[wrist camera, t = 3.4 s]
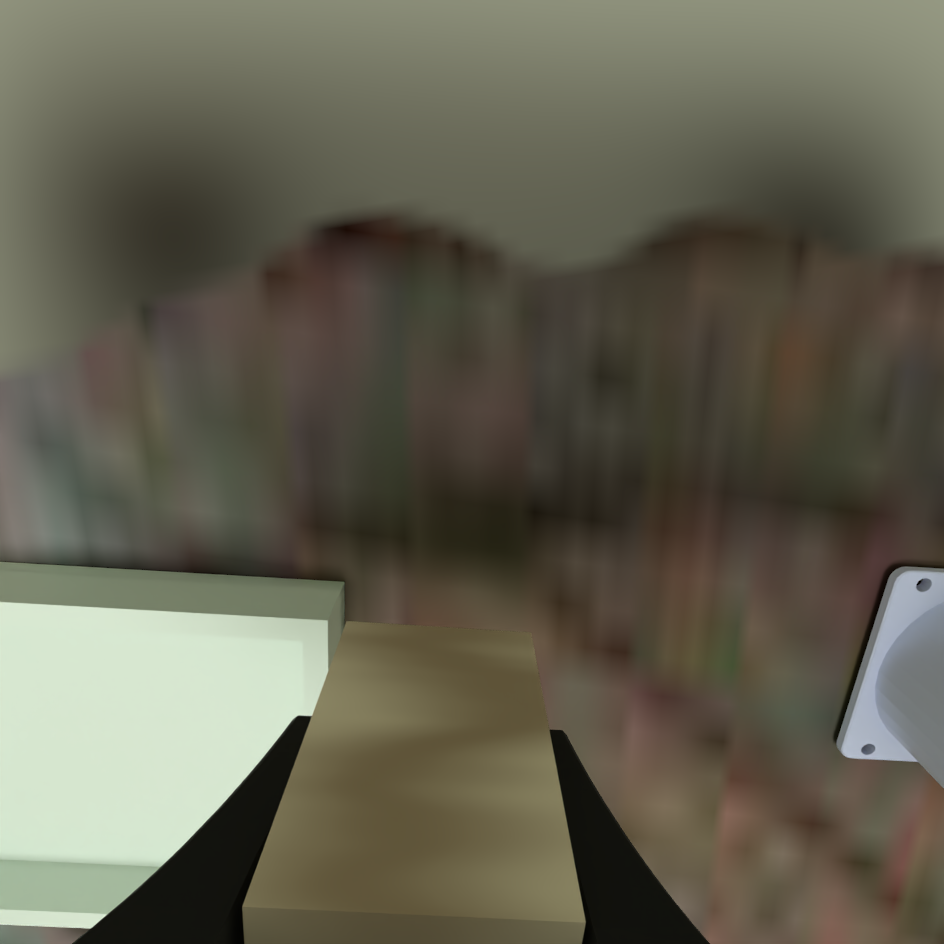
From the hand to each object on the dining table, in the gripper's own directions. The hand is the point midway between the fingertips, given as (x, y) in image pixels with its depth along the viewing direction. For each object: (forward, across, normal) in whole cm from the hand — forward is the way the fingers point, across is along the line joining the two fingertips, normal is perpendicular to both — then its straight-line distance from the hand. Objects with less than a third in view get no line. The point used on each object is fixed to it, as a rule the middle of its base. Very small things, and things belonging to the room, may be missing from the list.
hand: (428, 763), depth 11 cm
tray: (+9, +11, +8) cm, 17 cm away
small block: (+2, 0, 0) cm, 2 cm away
